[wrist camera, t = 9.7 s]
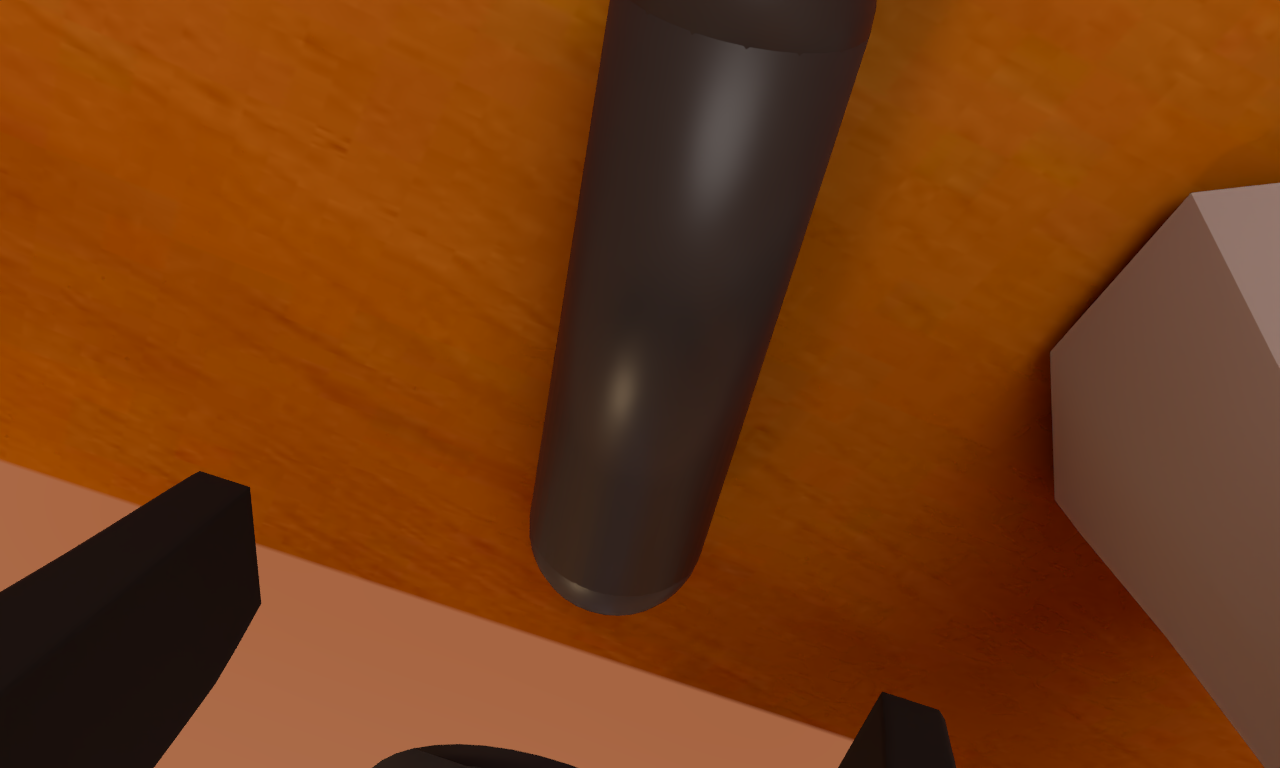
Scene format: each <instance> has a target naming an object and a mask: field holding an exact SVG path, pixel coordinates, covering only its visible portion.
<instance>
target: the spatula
mask: <svg viewBox="0 0 1280 768" xmlns="http://www.w3.org/2000/svg"><path fill="white" fill-rule="evenodd" d="M875 10H876V0H610V3H609V10H608V16H607V22H606V29H605V35H604V42H603V48H602V55H601V61H600V68H599V74H598V80H597V87H596V93H595V100H594V106H593V113H592V119H591V126H590V132H589V138H588V145H587V151H586V158H585V164H584V171H583V177H582V184H581V190H580V196H579V203H578V209H577V216H576V222H575V229H574V235H573V241H572V248H571V254H570V261H569V267H568V274H567V280H566V287H565V293H564V299H563V306H562V312H561V319H560V325H559V332H558V338H557V345H556V351H555V357H554V364H553V370H552V377H551V383H550V390H549V396H548V403H547V409H546V415H545V422H544V428H543V435H542V441H541V448H540V454H539V460H538V467H537V473H536V480H535V486H534V493H533V499H532V506H531V512H530V541H531V546H532V550H533V554H534V557H535V560H536V562H537V564H538V566H539V569H540V571H541V572H542V574H543V575H544V576H545V578H546V579H547V580H548V582H549V583H550V584H551V586H552V587H553V588H554V589H555V590H556V591H557V592H558V593H559V594H560V595H561V596H562V597H563V598H565V599H566V600H568V601H570V602H571V603H573V604H574V605H576V606H578V607H581V608H583V609H585V610H588V611H591V612H595V613H599V614H603V615H616V616H620V615H631V614H635V613H639V612H643V611H646V610H648V609H650V608H652V607H654V606H656V605H658V604H660V603H662V602H664V601H666V600H667V599H668V598H669V597H671V596H672V595H673V594H674V593H676V592H677V591H678V590H679V588H680V587H681V586H682V585H683V584H684V583H685V582H686V580H687V579H688V578H689V576H690V575H691V573H692V571H693V569H694V567H695V565H696V563H697V561H698V559H699V556H700V554H701V551H702V548H703V545H704V542H705V539H706V535H707V532H708V529H709V526H710V523H711V520H712V517H713V514H714V511H715V508H716V505H717V502H718V499H719V496H720V493H721V490H722V486H723V483H724V480H725V477H726V474H727V471H728V468H729V465H730V462H731V459H732V456H733V453H734V450H735V447H736V444H737V440H738V437H739V434H740V431H741V428H742V425H743V422H744V419H745V416H746V413H747V410H748V407H749V404H750V401H751V398H752V394H753V391H754V388H755V385H756V382H757V379H758V376H759V373H760V370H761V367H762V364H763V361H764V358H765V355H766V352H767V349H768V345H769V342H770V339H771V336H772V333H773V330H774V327H775V324H776V321H777V318H778V315H779V312H780V309H781V306H782V303H783V299H784V296H785V293H786V290H787V287H788V284H789V281H790V278H791V275H792V272H793V269H794V266H795V263H796V260H797V257H798V254H799V250H800V247H801V244H802V241H803V238H804V235H805V232H806V229H807V226H808V223H809V220H810V217H811V214H812V211H813V208H814V204H815V201H816V198H817V195H818V192H819V189H820V186H821V183H822V180H823V177H824V174H825V171H826V168H827V165H828V162H829V159H830V155H831V152H832V149H833V146H834V143H835V140H836V137H837V134H838V131H839V128H840V125H841V122H842V119H843V116H844V113H845V109H846V106H847V103H848V100H849V97H850V94H851V91H852V88H853V85H854V82H855V79H856V76H857V73H858V70H859V67H860V64H861V60H862V57H863V54H864V51H865V48H866V45H867V42H868V39H869V36H870V33H871V28H872V24H873V19H874V15H875Z"/></svg>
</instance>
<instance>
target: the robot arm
mask: <svg viewBox="0 0 1280 768" xmlns="http://www.w3.org/2000/svg"><path fill="white" fill-rule="evenodd" d="M260 605H261V597H260V587H259V576H258V566H257V556H256V545H255V535H254V525H253V514H252V504H251V494H250V487H248V486H244V485H241V484H238V483H235V482H232V481H229V480H226V479H223V478H220V477H217V476H214V475H210V474H207V473H204V472H201V471H199V472H197V473H195V474H193V475H191V476H190V477H188V478H186V479H185V480H183V481H182V482H180V483H178V484H177V485H175V486H173V487H172V488H170V489H168V490H167V491H165V492H164V493H162V494H160V495H159V496H157V497H156V498H154V499H152V500H151V501H149V502H148V503H146V504H144V505H143V506H141V507H140V508H138V509H136V510H135V511H133V512H132V513H130V514H129V515H127V516H125V517H124V518H122V519H120V520H119V521H117V522H116V523H114V524H112V525H111V526H109V527H108V528H106V529H105V530H103V531H101V532H99V533H98V534H96V535H95V536H93V537H91V538H90V539H88V540H86V541H85V542H83V543H82V544H80V545H78V546H77V547H75V548H73V549H72V550H70V551H69V552H67V553H65V554H64V555H62V556H60V557H59V558H57V559H55V560H54V561H52V562H50V563H48V564H47V565H45V566H43V567H42V568H40V569H38V570H37V571H35V572H33V573H32V574H30V575H28V576H26V577H25V578H23V579H21V580H20V581H18V582H16V583H15V584H13V585H11V586H10V587H8V588H6V589H5V590H3V591H1V592H0V768H154V767H155V765H156V764H157V763H158V761H159V760H160V759H161V757H162V756H163V754H164V753H165V752H166V750H167V749H168V748H169V746H170V745H171V744H172V742H173V741H174V740H175V738H176V737H177V736H178V734H179V733H180V731H181V730H182V729H183V727H184V726H185V725H186V723H187V722H188V721H189V719H190V718H191V717H192V715H193V714H194V712H195V711H196V710H197V708H198V707H199V705H200V704H201V703H202V701H203V700H204V699H205V697H206V696H207V694H208V693H209V692H210V690H211V689H212V688H213V686H214V685H215V683H216V682H217V680H218V678H219V677H220V675H221V673H222V671H223V670H224V668H225V666H226V665H227V663H228V661H229V660H230V658H231V656H232V655H233V653H234V651H235V649H236V648H237V646H238V644H239V642H240V641H241V638H242V637H243V635H244V633H245V632H246V630H247V628H248V626H249V624H250V623H251V621H252V619H253V617H254V615H255V614H256V612H257V610H258V608H259V606H260ZM838 768H956V765H955V761H954V757H953V753H952V748H951V744H950V740H949V736H948V731H947V727H946V722H945V719H944V717H943V716H942V714H941V712H940V711H939V710H937V709H934V708H931V707H928V706H925V705H922V704H919V703H916V702H912V701H909V700H906V699H903V698H900V697H897V696H894V695H891V694H888V693H885V692H882V693H881V694H880V696H879V698H878V700H877V701H876V703H875V705H874V706H873V708H872V710H871V712H870V713H869V715H868V717H867V719H866V720H865V722H864V724H863V726H862V727H861V729H860V731H859V733H858V734H857V736H856V738H855V739H854V741H853V743H852V745H851V746H850V749H849V750H848V752H847V753H846V755H845V757H844V759H843V760H842V762H841V764H840V766H839V767H838Z"/></svg>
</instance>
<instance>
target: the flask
mask: <svg viewBox="0 0 1280 768" xmlns="http://www.w3.org/2000/svg"><path fill="white" fill-rule="evenodd" d="M1050 370H1051V401H1052V431H1053V462H1054V493H1055V501H1056V502H1057V504H1058V505H1059V506H1060V508H1061V509H1062V510H1063V512H1064V513H1065V514H1066V515H1067V517H1068V518H1069V519H1070V521H1071V522H1072V523H1073V525H1074V526H1075V527H1076V529H1077V530H1078V531H1079V533H1080V534H1081V535H1082V536H1083V538H1084V539H1085V540H1086V541H1087V542H1088V544H1089V545H1090V546H1091V547H1092V548H1093V550H1094V551H1095V552H1096V553H1097V554H1098V556H1099V557H1100V558H1101V559H1102V560H1103V562H1104V563H1105V564H1106V565H1107V566H1108V568H1109V569H1110V570H1111V571H1112V573H1113V574H1114V575H1115V576H1116V577H1117V579H1118V580H1119V581H1120V582H1121V583H1122V585H1123V586H1124V587H1125V588H1126V589H1127V591H1128V592H1129V593H1130V594H1131V595H1132V597H1133V598H1134V599H1135V600H1136V601H1137V603H1138V604H1139V605H1140V606H1141V607H1142V609H1143V610H1144V611H1145V612H1146V613H1147V615H1148V616H1149V617H1150V618H1151V619H1152V621H1153V622H1154V623H1155V624H1156V625H1157V627H1158V628H1159V629H1160V630H1161V631H1162V633H1163V634H1164V635H1165V636H1166V637H1167V639H1168V640H1169V641H1170V643H1171V644H1172V645H1173V647H1174V648H1175V649H1176V651H1177V652H1178V653H1179V655H1180V656H1181V657H1182V659H1183V660H1184V661H1185V663H1186V664H1187V665H1188V667H1189V668H1190V669H1191V671H1192V672H1193V673H1194V675H1195V676H1196V677H1197V679H1198V680H1199V681H1200V682H1201V684H1202V685H1203V686H1204V688H1205V689H1206V690H1207V692H1208V693H1209V694H1210V696H1211V697H1212V698H1213V700H1214V701H1215V702H1216V704H1217V705H1218V706H1219V708H1220V709H1221V710H1222V712H1223V713H1224V714H1225V716H1226V717H1227V718H1228V720H1229V721H1230V722H1231V724H1232V725H1233V726H1234V728H1235V729H1236V730H1237V731H1238V733H1239V734H1240V735H1241V737H1242V738H1243V739H1244V741H1245V742H1246V743H1247V745H1248V746H1249V747H1250V749H1251V750H1252V751H1253V753H1254V754H1255V755H1256V757H1257V758H1258V759H1259V761H1260V762H1261V763H1262V765H1263V766H1264V767H1265V768H1280V183H1274V184H1265V185H1256V186H1247V187H1238V188H1229V189H1221V190H1212V191H1203V192H1194V193H1190V195H1189V196H1188V197H1187V198H1186V199H1185V200H1184V201H1183V203H1182V204H1181V205H1180V206H1179V207H1178V208H1177V209H1176V210H1175V212H1174V213H1173V214H1172V215H1171V216H1170V217H1169V218H1168V219H1167V221H1166V222H1165V223H1164V224H1163V225H1162V226H1161V227H1160V228H1159V230H1158V231H1157V232H1156V233H1155V234H1154V235H1153V236H1152V237H1151V239H1150V240H1149V241H1148V242H1147V243H1146V244H1145V245H1144V247H1143V248H1142V249H1141V250H1140V251H1139V252H1138V253H1137V254H1136V256H1135V257H1134V258H1133V259H1132V260H1131V261H1130V262H1129V263H1128V265H1127V266H1126V267H1125V268H1124V269H1123V270H1122V271H1121V272H1120V274H1119V275H1118V276H1117V277H1116V278H1115V279H1114V280H1113V282H1112V283H1111V284H1110V285H1109V286H1108V287H1107V288H1106V289H1105V291H1104V292H1103V293H1102V294H1101V295H1100V296H1099V297H1098V298H1097V300H1096V301H1095V302H1094V303H1093V304H1092V305H1091V306H1090V307H1089V309H1088V310H1087V311H1086V312H1085V313H1084V314H1083V315H1082V316H1081V318H1080V319H1079V320H1078V321H1077V322H1076V323H1075V324H1074V326H1073V327H1072V328H1071V329H1070V330H1069V331H1068V332H1067V333H1066V335H1065V336H1064V337H1063V338H1062V339H1061V340H1060V341H1059V342H1058V344H1057V345H1056V346H1055V347H1054V348H1053V349H1052V350H1051V351H1050Z"/></svg>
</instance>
